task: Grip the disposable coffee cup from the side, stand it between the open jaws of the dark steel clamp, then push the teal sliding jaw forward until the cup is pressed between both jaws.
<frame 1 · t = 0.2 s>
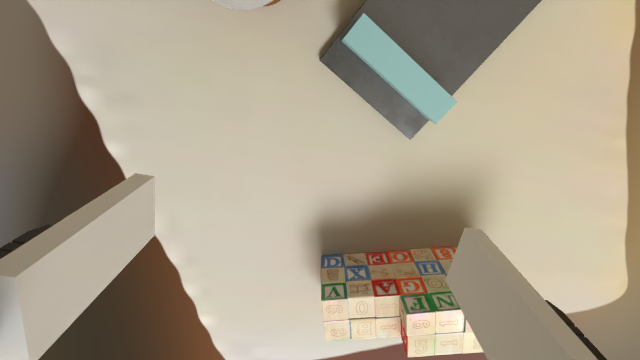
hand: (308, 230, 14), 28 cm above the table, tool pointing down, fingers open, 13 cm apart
stack of blocks: (397, 267, 48), on the table
sliding jaw: (398, 70, 36), point 3 cm above the table, slide at 5.0 cm
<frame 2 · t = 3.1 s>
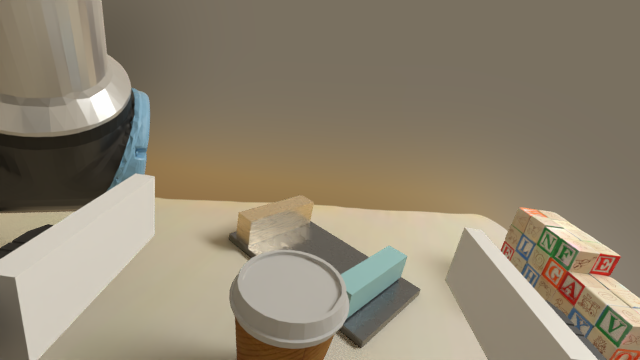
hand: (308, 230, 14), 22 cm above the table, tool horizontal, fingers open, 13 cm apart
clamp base: (307, 257, 50), on the table
stack of blocks: (548, 320, 48), on the table
sliding jaw: (369, 278, 43), point 3 cm above the table, slide at 5.0 cm
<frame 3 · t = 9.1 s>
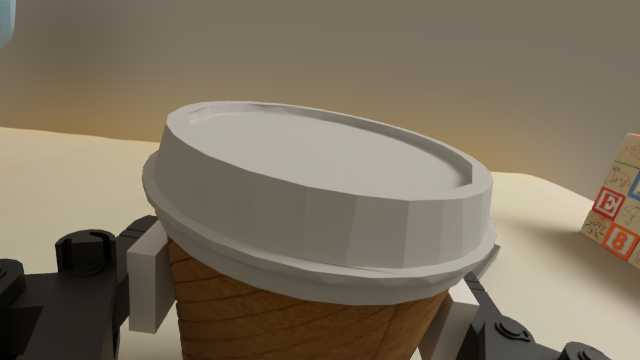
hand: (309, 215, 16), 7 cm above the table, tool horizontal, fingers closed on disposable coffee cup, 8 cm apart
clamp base: (321, 207, 33), on the table
when the fingers open (10 cm above the table, at t = 17.9 s): disposable coffee cup drops 2 cm, resting on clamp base.
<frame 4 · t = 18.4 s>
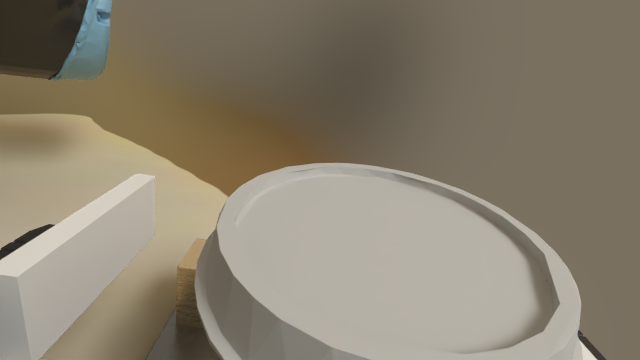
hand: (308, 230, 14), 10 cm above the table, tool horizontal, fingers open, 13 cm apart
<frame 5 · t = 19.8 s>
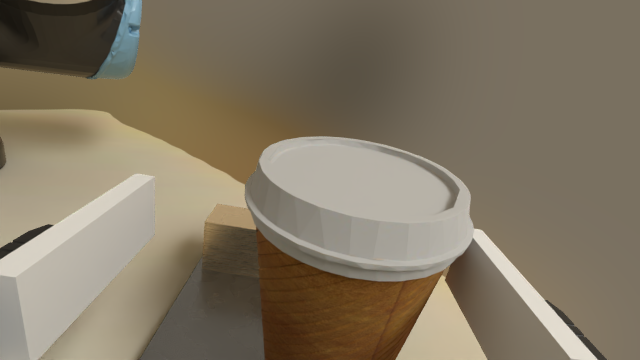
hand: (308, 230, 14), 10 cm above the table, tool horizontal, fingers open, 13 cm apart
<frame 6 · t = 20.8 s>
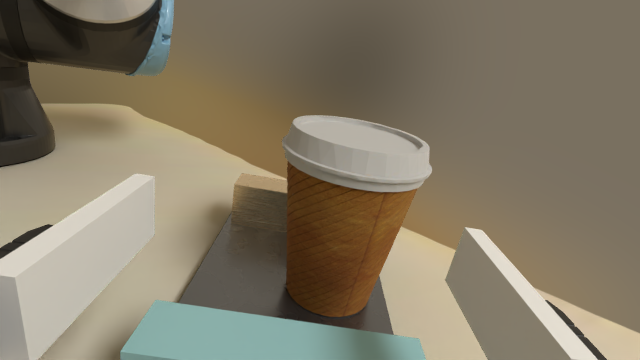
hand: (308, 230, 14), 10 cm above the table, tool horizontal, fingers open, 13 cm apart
disposable coffee cup: (327, 288, 25), point 1 cm above the table, touching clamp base
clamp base: (292, 283, 27), on the table
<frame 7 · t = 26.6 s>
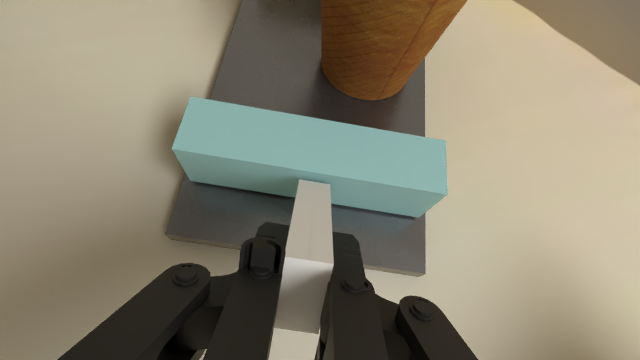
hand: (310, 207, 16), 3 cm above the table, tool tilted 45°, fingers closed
disposable coffee cup: (364, 66, 24), point 1 cm above the table, touching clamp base
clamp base: (328, 57, 25), on the table
sliding jaw: (313, 161, 18), point 3 cm above the table, slide at 4.9 cm, touching gripper
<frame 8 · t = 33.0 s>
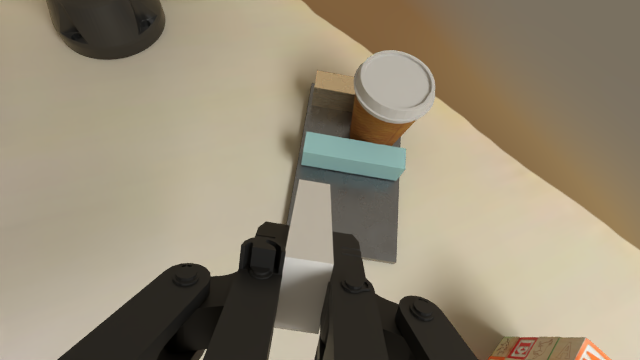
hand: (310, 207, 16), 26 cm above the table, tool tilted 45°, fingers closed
disposable coffee cup: (370, 137, 49), point 1 cm above the table, touching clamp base, sliding jaw
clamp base: (349, 151, 48), on the table
sliding jaw: (352, 156, 44), point 3 cm above the table, slide at -2.9 cm, touching disposable coffee cup
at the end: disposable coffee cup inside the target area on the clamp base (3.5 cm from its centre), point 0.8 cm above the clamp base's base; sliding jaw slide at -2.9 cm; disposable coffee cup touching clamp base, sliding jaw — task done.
